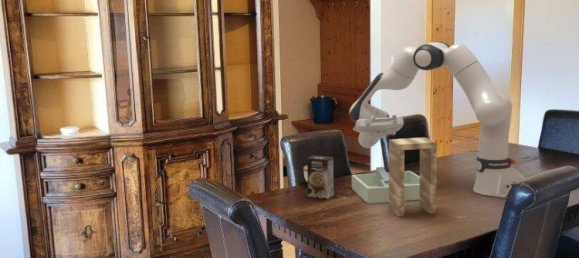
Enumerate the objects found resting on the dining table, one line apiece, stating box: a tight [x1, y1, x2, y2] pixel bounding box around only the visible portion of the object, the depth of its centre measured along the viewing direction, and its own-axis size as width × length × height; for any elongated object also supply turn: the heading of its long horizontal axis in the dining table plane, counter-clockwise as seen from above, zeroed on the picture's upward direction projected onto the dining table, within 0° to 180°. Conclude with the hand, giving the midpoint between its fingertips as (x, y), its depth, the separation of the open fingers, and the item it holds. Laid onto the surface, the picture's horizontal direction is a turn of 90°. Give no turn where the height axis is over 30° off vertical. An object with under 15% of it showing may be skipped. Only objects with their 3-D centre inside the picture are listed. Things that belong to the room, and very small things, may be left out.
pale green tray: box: [351, 170, 420, 205], centre depth 222 cm, size 26×22×6 cm
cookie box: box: [306, 154, 334, 200], centre depth 221 cm, size 9×6×16 cm
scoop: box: [375, 166, 389, 187], centre depth 225 cm, size 7×16×3 cm, turn 12°
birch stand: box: [388, 136, 438, 217], centre depth 198 cm, size 14×10×26 cm
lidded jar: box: [303, 165, 308, 183], centre depth 239 cm, size 11×11×9 cm
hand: (384, 117), depth 225 cm, fingers open, 8 cm apart
